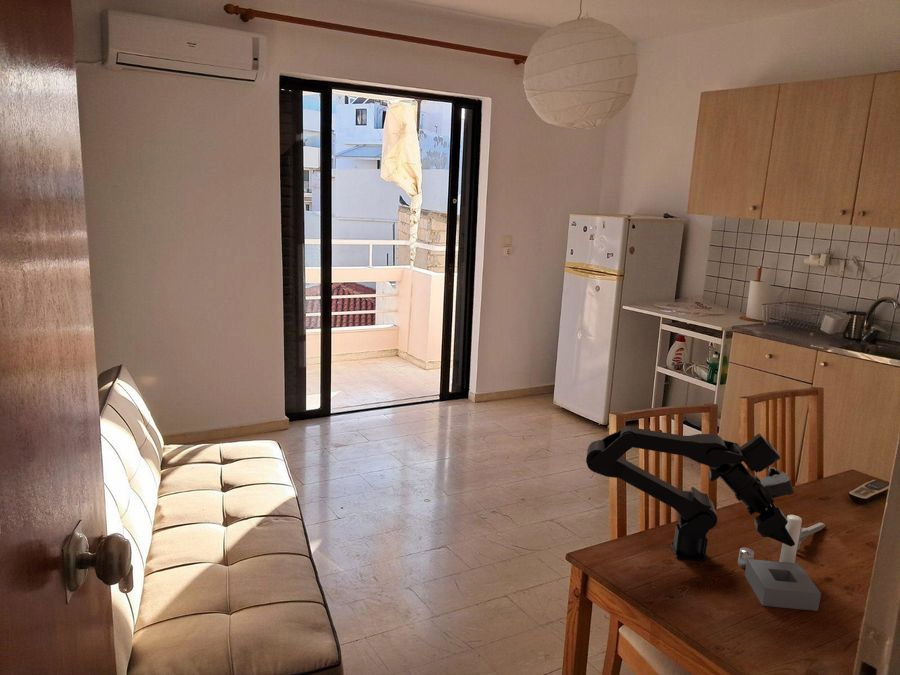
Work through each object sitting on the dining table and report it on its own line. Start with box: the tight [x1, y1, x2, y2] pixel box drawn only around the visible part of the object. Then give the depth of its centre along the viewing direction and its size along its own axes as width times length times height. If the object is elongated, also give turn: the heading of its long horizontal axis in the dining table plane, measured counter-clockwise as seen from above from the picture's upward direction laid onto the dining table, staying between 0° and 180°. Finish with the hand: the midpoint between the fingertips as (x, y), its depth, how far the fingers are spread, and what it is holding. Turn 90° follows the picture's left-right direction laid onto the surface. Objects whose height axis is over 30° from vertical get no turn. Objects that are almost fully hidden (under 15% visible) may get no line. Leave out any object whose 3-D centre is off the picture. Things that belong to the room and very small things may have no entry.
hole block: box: [744, 559, 822, 612], centre depth 141 cm, size 11×11×4 cm
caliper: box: [797, 522, 826, 552], centre depth 164 cm, size 20×1×6 cm, turn 133°
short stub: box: [737, 547, 755, 569], centre depth 151 cm, size 3×3×4 cm
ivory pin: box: [778, 514, 803, 563], centre depth 150 cm, size 3×3×12 cm
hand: (788, 534), depth 149 cm, fingers open, 9 cm apart
